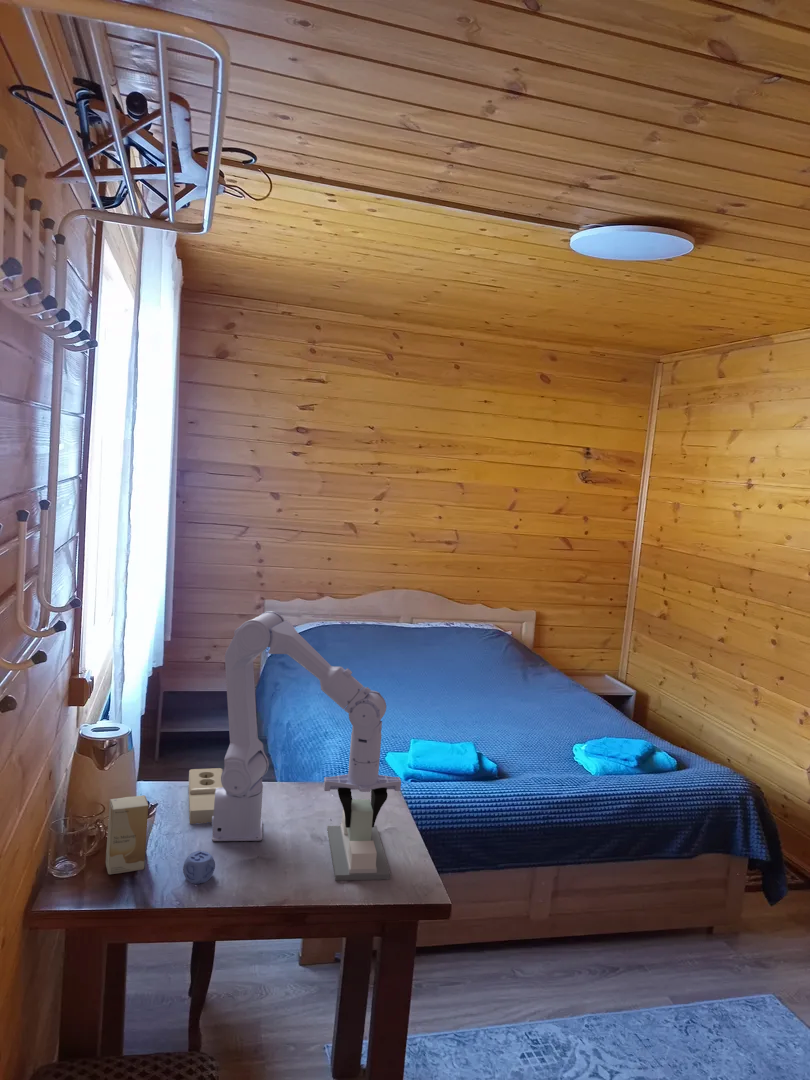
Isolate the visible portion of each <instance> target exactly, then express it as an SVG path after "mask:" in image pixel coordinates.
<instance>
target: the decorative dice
mask: <svg viewBox="0 0 810 1080" xmlns="http://www.w3.org/2000/svg"><path fill="white" fill-rule="evenodd" d="M215 868H216V861H215V859H214V857H213V855H212V854H210V852H208V851H204V850H197V851H194V852H191V853H190V854H188V855H187V856H186V858H185V861H184V863H183V866H182V873H183V876H184V878H185V880H187V881H188V882H189V883H191V884H196V885H197V884H198V885H199V884H200V883H201V884H204V883H206V882H208V881H209V880H210V879H211V878H212V876H213V874H214V872H215Z"/></svg>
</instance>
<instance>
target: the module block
mask: <svg viewBox="0 0 810 1080" xmlns="http://www.w3.org/2000/svg"><path fill="white" fill-rule="evenodd" d="M372 820H373V809H372V806H371V798H368V799H367V798H363V799H361V798H360V799H357V798H356V799H354V798H352V803H351V811H350V828H347V831H348V836H349V841H371V832H372Z"/></svg>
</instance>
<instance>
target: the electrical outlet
mask: <svg viewBox="0 0 810 1080" xmlns="http://www.w3.org/2000/svg"><path fill="white" fill-rule="evenodd" d="M223 770H224V769H223V768H220V767H218V768H212V767H211V768H192V769H189V771H188V809H189V811H188V813H189V814H188V815H189V818H188V819H189V820H188V821H189V824H190V825H193V824H196V823H198V824H208V823H207V822H212V816H214V801H215V790H216V788H222V787H223V786H222V783H221V774H222V772H223Z"/></svg>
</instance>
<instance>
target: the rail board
mask: <svg viewBox="0 0 810 1080" xmlns="http://www.w3.org/2000/svg"><path fill="white" fill-rule="evenodd" d="M341 814H342V815H341V823H340V825H328V826H327V831H328V832H327V837H328V843H329V849H330V855H331V862H332V863H331V864H332V869H333V876H334V881H368V880H369V881H371V880H374V881H375V880H378V881H379V880H391V872H390V869H389V865H388V860H387V857H386V854H385V851H384V847H383V842H382V840H381V837H380V836H381V835H380V833H379V829H378V827H377V826H378V825H374V827H372V832H371V841H349V836H348V831H347V828H346V825H345V813H344V809H342V813H341Z"/></svg>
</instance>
